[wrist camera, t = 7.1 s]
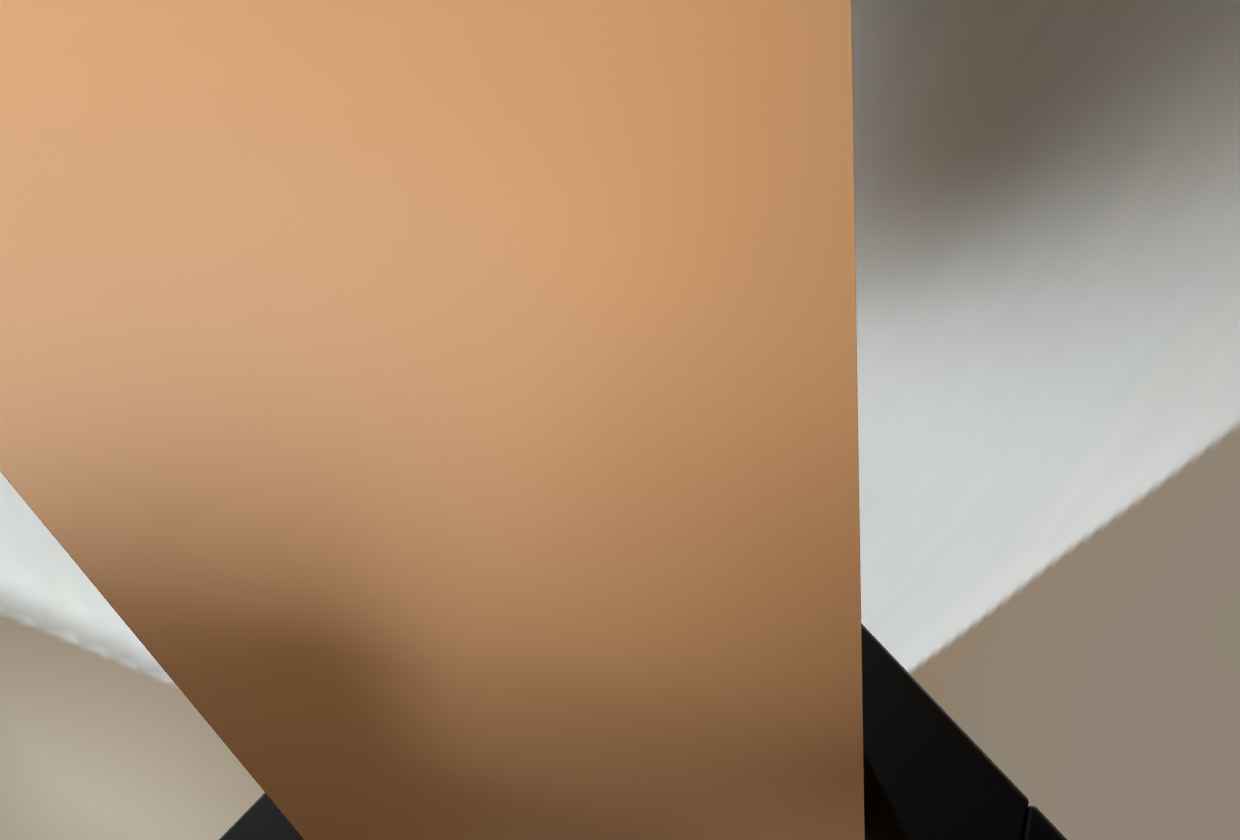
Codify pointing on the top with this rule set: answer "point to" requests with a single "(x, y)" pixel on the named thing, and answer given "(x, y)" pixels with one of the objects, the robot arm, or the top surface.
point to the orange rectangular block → (456, 396)
